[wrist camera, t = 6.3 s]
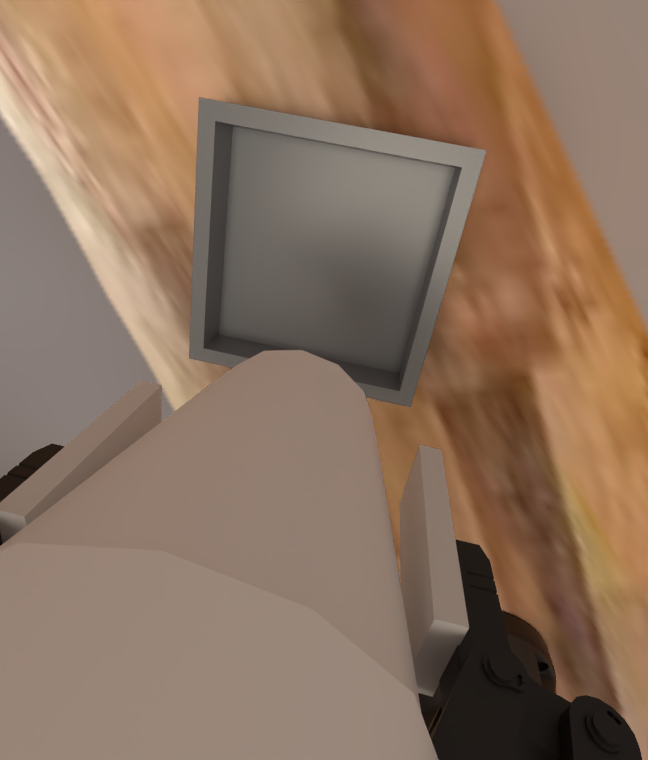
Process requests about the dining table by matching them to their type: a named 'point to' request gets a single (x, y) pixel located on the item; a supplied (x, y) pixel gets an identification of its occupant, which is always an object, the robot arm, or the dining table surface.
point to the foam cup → (218, 589)
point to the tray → (323, 242)
